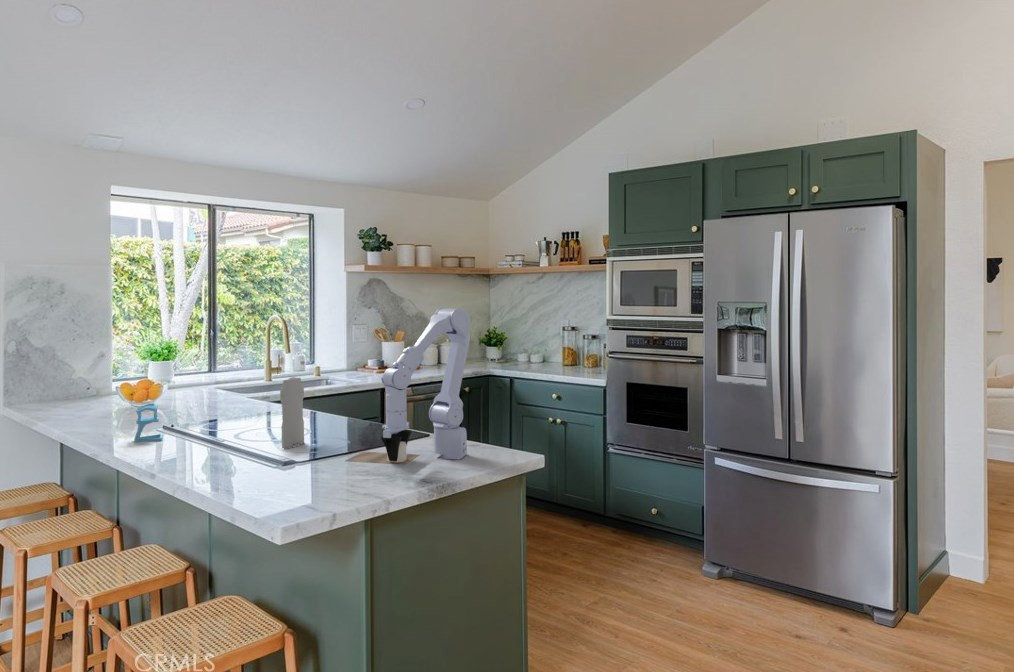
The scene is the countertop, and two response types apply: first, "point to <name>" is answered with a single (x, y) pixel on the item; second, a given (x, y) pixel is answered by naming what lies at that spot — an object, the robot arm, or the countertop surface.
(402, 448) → the cap
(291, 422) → the tall pale column
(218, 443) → the countertop surface
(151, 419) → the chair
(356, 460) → the post board
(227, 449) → the countertop surface
